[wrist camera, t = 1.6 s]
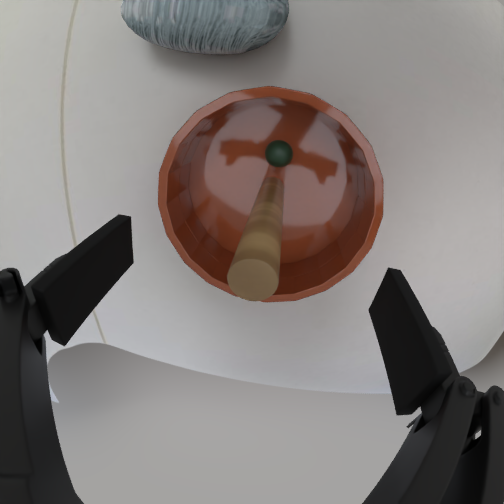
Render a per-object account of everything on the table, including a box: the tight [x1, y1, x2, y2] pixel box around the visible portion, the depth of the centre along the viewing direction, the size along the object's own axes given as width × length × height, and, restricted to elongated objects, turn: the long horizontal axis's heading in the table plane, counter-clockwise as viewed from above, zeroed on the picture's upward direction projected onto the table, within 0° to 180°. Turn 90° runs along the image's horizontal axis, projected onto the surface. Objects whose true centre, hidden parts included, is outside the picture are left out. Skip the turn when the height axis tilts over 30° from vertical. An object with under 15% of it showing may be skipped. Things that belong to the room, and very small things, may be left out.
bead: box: [265, 140, 293, 167], centre depth 22 cm, size 2×2×2 cm
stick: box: [227, 177, 284, 301], centre depth 18 cm, size 2×2×15 cm
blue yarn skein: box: [121, 0, 289, 54], centre depth 14 cm, size 14×10×10 cm
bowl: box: [158, 86, 383, 302], centre depth 22 cm, size 18×18×6 cm
